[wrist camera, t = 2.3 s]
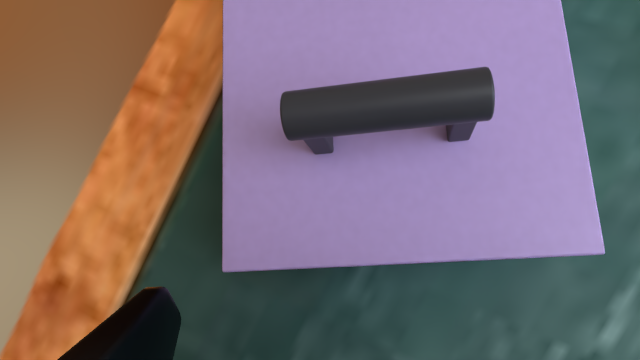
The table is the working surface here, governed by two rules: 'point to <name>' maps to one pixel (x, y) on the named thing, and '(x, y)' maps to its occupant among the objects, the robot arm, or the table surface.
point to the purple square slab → (401, 134)
